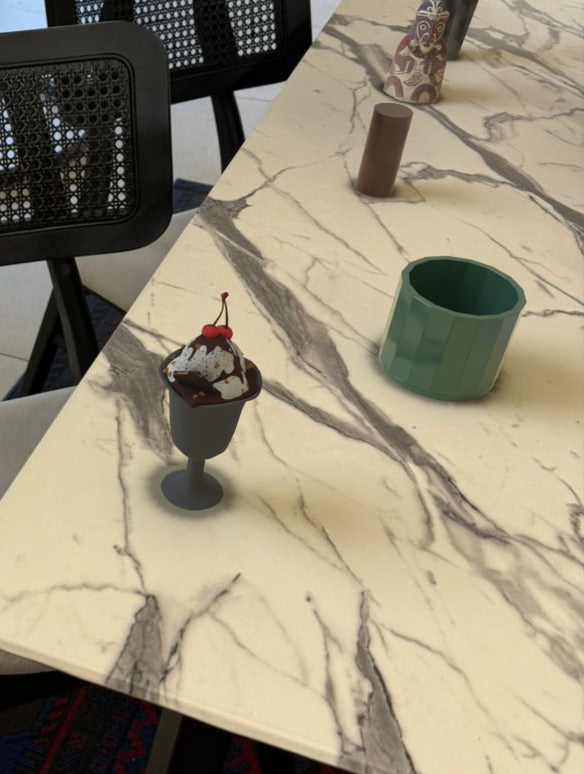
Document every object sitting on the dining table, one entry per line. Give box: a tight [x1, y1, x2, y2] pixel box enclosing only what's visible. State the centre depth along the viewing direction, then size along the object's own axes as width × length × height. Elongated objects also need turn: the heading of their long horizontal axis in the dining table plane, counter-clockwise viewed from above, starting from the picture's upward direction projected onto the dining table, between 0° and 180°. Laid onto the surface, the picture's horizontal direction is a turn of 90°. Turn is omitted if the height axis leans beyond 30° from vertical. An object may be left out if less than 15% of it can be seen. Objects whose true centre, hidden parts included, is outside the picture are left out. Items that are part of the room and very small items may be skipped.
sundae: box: [158, 291, 263, 512], centre depth 67 cm, size 7×7×15 cm
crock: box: [377, 255, 528, 402], centre depth 83 cm, size 10×10×8 cm
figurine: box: [383, 0, 450, 104], centre depth 130 cm, size 7×7×12 cm
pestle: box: [354, 102, 414, 199], centre depth 108 cm, size 4×4×9 cm
